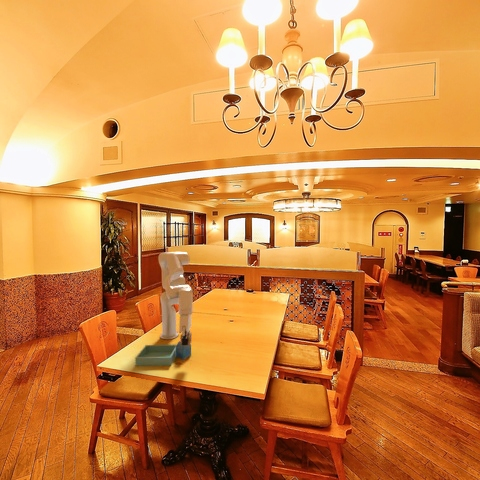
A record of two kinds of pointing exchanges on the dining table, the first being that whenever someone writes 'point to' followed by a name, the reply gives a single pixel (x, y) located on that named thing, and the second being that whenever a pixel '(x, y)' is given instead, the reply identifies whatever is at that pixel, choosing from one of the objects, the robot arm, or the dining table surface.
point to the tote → (156, 355)
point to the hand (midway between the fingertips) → (186, 342)
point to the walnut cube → (187, 337)
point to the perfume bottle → (183, 350)
